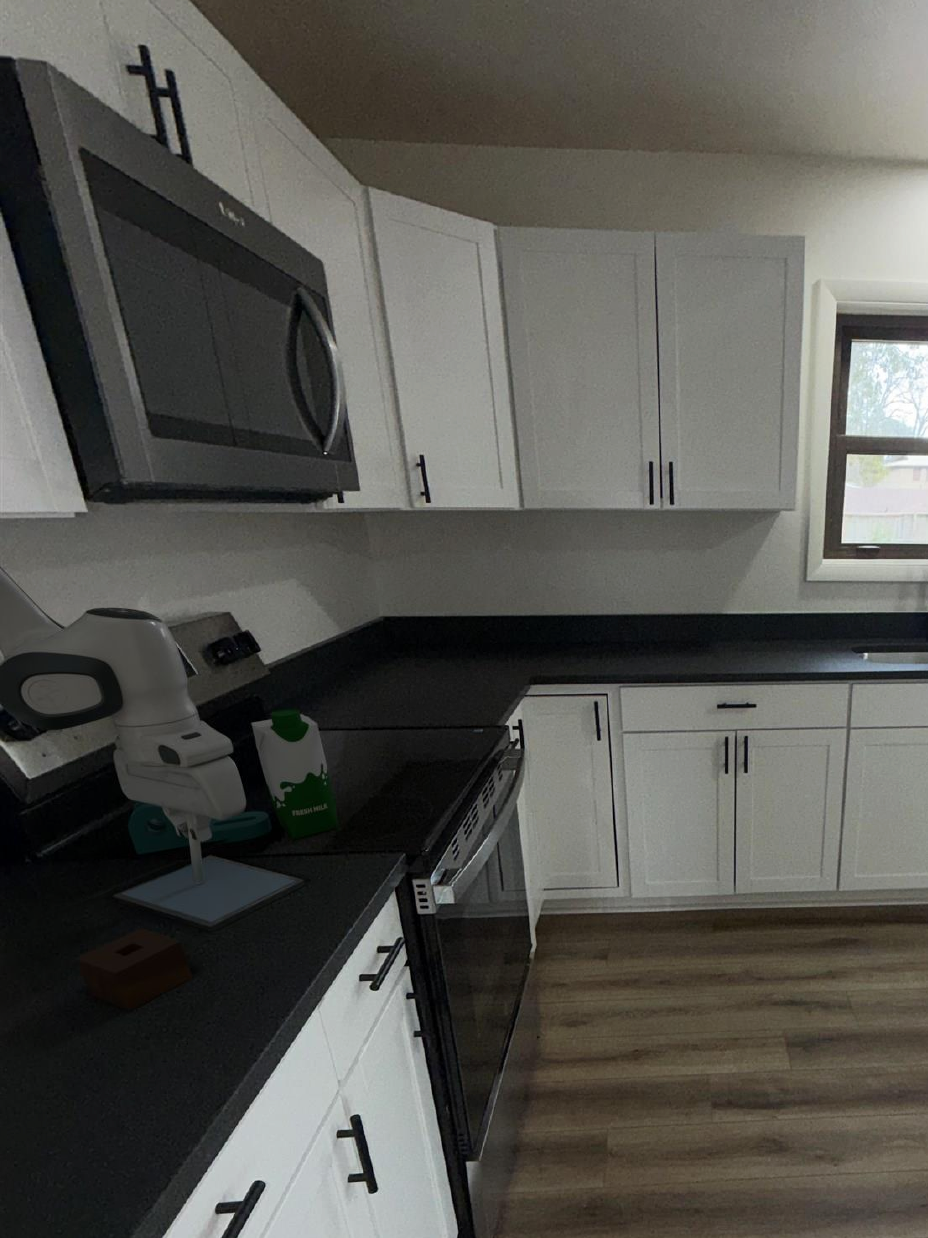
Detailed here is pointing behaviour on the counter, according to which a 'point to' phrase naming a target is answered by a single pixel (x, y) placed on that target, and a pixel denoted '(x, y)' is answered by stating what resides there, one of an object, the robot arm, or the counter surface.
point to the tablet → (210, 893)
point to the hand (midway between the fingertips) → (195, 837)
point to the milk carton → (296, 773)
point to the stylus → (195, 854)
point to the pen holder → (134, 968)
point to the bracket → (164, 836)
